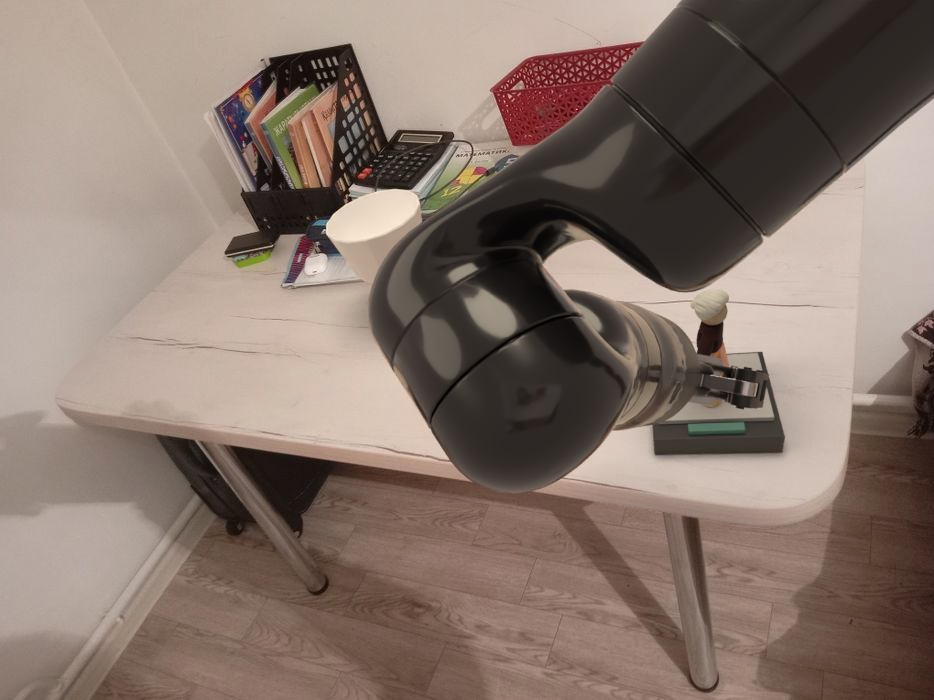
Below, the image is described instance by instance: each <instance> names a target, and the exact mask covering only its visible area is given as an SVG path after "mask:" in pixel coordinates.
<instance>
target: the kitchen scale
mask: <svg viewBox="0 0 934 700" xmlns="http://www.w3.org/2000/svg"><path fill="white" fill-rule="evenodd" d="M726 355H727V359H728V362H729V367H731V365H732V366H737V367H738V368H741V369H744V367H749V368H752V370H753V371H756V370H761V371H764V373H767V374H769V372H768V368H767V363H766V360H765V357H764V353H763V351H751V352H748V351H747V352H733V353H732V352H731V353H726ZM766 381H768V383H767V388H766V393H765V398H764V403H763V408H757V409H755V408H744V409H738V408H736V406H734V405H731V404H729V403H727V402H724V400H721V403H720V404H719V405H718V406H717V407H713V408H711V407H706V406H704V405H702V404H699V403H692V402H688V403H687V404H686V405H685V406H684V407H683V408H682V409H681V410H680V411H679V412H678V413H677V414H676V415H674V416H673V417H671V418H669V419H668V420H666V421H663V422H661V423H658V424H654V425H651V426H652V438H653V441H652V442H653V453H654V455H655V456H656V455H657V456H658V455H659V456H660V455H705V454H706V455H707V454H708V455H709V454H710V455H711V454H713V455H714V454H762V453H783V452H784V445H785V439H786V435H785V432H784V429H783V424H782V421H781V417H780V413H779V410H778V406H777V402H776V399H775V395H774V390H773V387H772V382H771V379H770V377H769V378H768V380H766ZM718 392H719V391H718Z"/></svg>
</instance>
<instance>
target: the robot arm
mask: <svg viewBox="0 0 934 700" xmlns="http://www.w3.org/2000/svg"><path fill="white" fill-rule="evenodd" d="M610 83H611V84H609V83H606V84H605V85H603V86H602V87H601V89H600V90H599V91H598V92H597V93H596V94H595V95H594V97H593V98H592V99H591V100H590V101H589V102H588V104H587V105H586V106H585V107H584V108H583V109H581V111H580V112H579V113H578V114H577V115H575V116H574V117H573V118H571V119H570V120H569V121H567V122H566V123H565V124H564V125H562V126H561V127H560V128H558V129H557V130H555V131H554V132H552V133H551V134H549V136H547V137H546V138H544V139H542V140H541V141H540V142H538V143H537V144H535V145H534V146H533V147H531V148H530V149H528V150H527V151H525V152H524V153H523V154H521V155H520V156H518V157H517V158H516V159H514V160H512V162H510V163H509V164H507V165H505V166H504V167H503V168H502V169H501V170H499V171H497V172H496V173H495V174H493V175H492V176H491V177H489V178H487V179H486V180H485V181H483V182H481V183H480V184H478V185H477V186H475V187H473V189H471V190H469V191H468V192H466V193H465V194H463V195H462V196H460V197H458V198H457V199H455V200H454V201H452V202H450V203H449V204H447V205H446V206H444V207H442V208H441V209H439V210H437V211H436V212H434V213H433V214H432V215H430V216H429V217H427V218H426V219H424V220H422V222H421V223H420V224H419V225H417V226H416V227H415V228H413V229H412V230H411V231H409V232H408V233H407V234H406V235H405V236H404V237H403V238H402V239H401V240H400V241H399V242H398V243H397V244H396V245H395V246H394V247H393V248H392V249H391V250H390V252H389V253H388V255H387V256H386V257H385V259H384V260H383V262H382V264H381V266H380V268H379V270H378V271H377V273H376V275H375V278H374V281H373V284H371V287H370V291H369V295H368V299H367V308H366V309H367V310H366V314H367V315H366V319H367V324H368V328H369V331H370V334H371V336H372V339H373V341H374V343H375V345H376V346H377V348H378V350H379V351H380V353H381V355H382V357H383V358H384V359H385V361H386V362H387V364H388V365H389V367H390V369H391V370H392V372H393V373H394V374H395V375H394V376H396V378H397V379H398V381H399V382H400V384H401V386H402V387H403V389H404V390H405V392H406V393H407V395H408V397H409V399H410V400H411V402H412V403H413V405H414V407H415V408H416V410H417V412H418V413H419V414H420V416H421V418H422V419H423V422H424V423H425V425H426V426H427V427H428V429H429V430H430V433H431V434H432V436H433V437H434V438H435V440H436V442H437V443H438V445H439V446H440V448H441V449H442V450H443V452H444V454H445V455H446V457H447V459H448V460H449V461H450V463H451V464H452V465H453V466H454V467H455V468H456V469H457V471H458V472H459V473H460V474H461V475H463V476H464V477H465V478H466V479H467V480H469V481H470V482H472V483H474V484H475V485H477V486H479V487H482V488H483V489H486V490H489V491H492V492H495V493H499V494H500V493H501V494H506V495H507V494H508V495H518V494H528V493H532V492H535V491H537V490H538V491H539V490H541V489H543V488H546V487H548V486H550V485H553V484H554V483H557V482H558V481H560V480H562V479H563V478H565V477H567V476H568V475H569V474H570V473H572V472H573V471H575V470H576V469H578V468H579V467H580V466H581V465H582V464H583V463H585V462H586V461H587V460H588V459H589V458H590V457H591V456H592V455H594V453H596V451H597V450H598V449H599V448H600V447H601V446H602V445H603V444H604V443H605V441H606V440H607V439H608V437H609V436H610V435H611V433H612V432H618V431H619V432H620V431H626V430H632V429H636V428H641V427H642V428H643V427H647V426H652V425H654V424H658V423H661V422H663V421H666V420H668V419H669V418H671V417H673V416H674V415H676V414H677V413H678V412H679V411H680V410H681V409H682V408H683V407H684V406H685V405H686V404H687V403H688V402H692V403H699V404H706V405H712V404H713V403H714V402H715V401H716V400H717V399H719V400H724V402H727V403H729V404H731V405H734V406H736V408H738V409H744V408H755V409H757V408H763V403H764V398H765V393H766V388H767V383H768V381H766V380H768V378H769V379H770V374H769V373H768V374H767V373H764V371H761V370H756V371H753V370H752V368H749V367H744V369H741V368H738V367H737V366H732V365H731V367H726V366H723V364H722V360H721V359H720V358H717V357H711V356H706V355H701V354H696V353H697V350H696V349H695V347H694V344H693V342H692V341H691V338H690V337H689V336H688V335H687V333H686V332H685V331H684V330H683V329H682V328H681V327H680V326H679V325H678V324H677V323H675V322H674V321H672V320H671V319H670V318H667V317H665V316H663V315H660V314H659V313H656V312H654V311H651V310H649V309H647V308H644V307H642V306H640V305H638V304H635V303H631V302H628V301H624V300H623V301H622V300H614V299H612V298H609V297H607V296H604V295H602V294H601V295H600V294H598V293H595V292H592V291H585V290H582V289H581V290H580V289H575V288H574V289H572V288H571V289H570V288H569V289H563V288H562V287H561V285H560V284H559V283H558V282H557V280H556V279H555V278H554V277H553V275H552V274H551V273H550V272H549V271H548V269H547V268H546V267H545V265H544V264H545V263H546V262H547V260H549V258H551V257H552V256H553V255H554V254H555V253H556V252H558V251H559V250H561V249H563V248H566V247H568V246H570V245H573V244H575V243H579V242H583V241H584V242H585V241H593V242H595V243H597V244H599V245H600V246H601V247H603V248H604V249H606V250H607V251H608V252H610V253H611V254H613V255H614V256H615V257H617V258H618V259H620V260H621V261H622V262H623V263H625V264H626V265H627V266H629V267H630V268H631V269H633V270H634V271H636V272H637V273H638V274H640V275H641V276H643V277H645V278H647V279H648V280H650V281H652V283H654V284H656V285H658V286H659V287H662V288H665V289H667V290H668V291H672V292H676V293H683V294H684V293H685V294H688V293H694V292H698V291H701V290H704V289H705V288H708V287H710V286H711V285H713V284H714V283H716V282H717V281H719V280H720V279H722V278H723V277H725V276H726V275H728V274H729V273H730V272H731V271H732V270H733V269H735V268H736V267H737V266H738V265H740V264H741V263H743V261H745V259H747V258H748V257H749V256H751V255H752V254H753V253H754V252H755V251H756V250H757V249H758V248H760V247H761V246H762V245H763V244H764V243H765V239H764V237H765V238H766V239H767V238H769V239H770V238H771V237H772V236H773V235H774V234H775V233H778V231H779V230H781V228H783V227H784V226H785V225H786V224H787V223H788V222H790V221H791V220H792V219H793V218H794V217H795V216H797V215H798V214H799V213H800V212H801V211H802V210H804V209H805V208H807V206H808V205H810V204H811V203H812V202H814V200H816V199H817V198H818V197H819V196H821V194H823V193H824V192H825V191H826V190H827V189H829V187H831V186H832V185H833V184H834V183H835V182H837V181H838V180H840V179H841V177H843V176H844V174H847V173H848V172H849V171H850V170H851V169H853V167H854V166H856V165H857V164H858V163H859V162H860V161H861V160H863V159H864V158H865V157H866V156H867V155H868V154H870V153H871V152H872V151H873V150H874V149H876V148H877V146H879V145H880V144H881V143H882V142H883V141H884V140H886V139H887V138H888V137H889V136H890V135H891V134H892V133H894V132H895V131H896V130H897V129H898V128H899V127H901V125H903V124H904V123H906V122H907V121H908V120H909V119H910V118H912V117H913V116H915V114H917V113H918V112H919V111H921V110H922V109H923V108H924V107H926V106H927V105H928V104H929V103H930V102H932V101H934V0H679V2H678V3H677V4H676V6H675V7H674V8H673V9H672V10H671V11H670V12H669V13H668V14H667V16H666V17H665V18H664V19H663V20H662V21H661V23H660V24H658V26H656V28H655V29H654V30H653V31H652V32H651V33H650V34H649V35H648V37H646V39H645V40H644V41H643V42H642V43H641V45H640V46H639V47H638V48H637V49H636V50H635V51H634V52H633V53H632V55H631V56H630V57H629V58H628V59H627V60H626V61H625V63H623V65H621V67H620V68H619V69H618V70H617V71H616V72H615V74H613V76H612V77H610ZM721 373H723V376H722V377H720V374H721ZM717 390H719V392H718V391H717Z"/></svg>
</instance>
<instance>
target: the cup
mask: <svg viewBox="0 0 934 700" xmlns="http://www.w3.org/2000/svg"><path fill="white" fill-rule="evenodd" d="M421 222H423V218H422V209H421V202H420V199H419V195H417V194H415V193H414V192H412V191H410V190H409V189H399V188H391V189H384V190H377V191H375V192H374V191H373V192H371V193H368V194H364V195H362V196H359V197H357V198H356V199H353V200H351V201H350V202H349V201H348V203H345V204H344V205H343V206H342V207H340V208H339V209H338V210H337V211H335V212H334V213H333V214H332V215H331V217H330V218H329V219H328V221H327V223H326V225H325V228H326V229H325V230H326V231H325V234H326V236H327V237H328V239H329V240H330V241H331V243H332V244H333V246H334V247H335V248H336V250H337V251H338V252H339V254H340V255H341V257H342V258H343V259H344V260H345V261H346V263H347V265H348V266H349V267H350V269H351V270H352V271H353V273H354V274H355V275H356V276H357V277H358V278H359V279H360V280H361V281H363V282H365V283H366V284H370V285H372V284H373V281H374V278H375V275H376V273H377V271H378V270H379V268H380V266H381V264H382V262H383V260H384V259H385V257H386V256H387V255H388V253H389V252H390V250H391V249H392V248H393V247H394V246H395V245H396V244H397V243H398V242H399V241H400V240H401V239H402V238H403V237H404V236H405V235H406V234H407V233H408V232H409V231H411V230H412V229H413V228H415V227H416V226H417V225H419V224H420V223H421Z"/></svg>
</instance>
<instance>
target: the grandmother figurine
mask: <svg viewBox="0 0 934 700" xmlns="http://www.w3.org/2000/svg"><path fill="white" fill-rule="evenodd" d="M729 300H730V295H729V293H727V292H726V291H724V290H722V289H715V288H711V289H706V290H704V291H701V292H700V293H698V294H697V295H696V296H695V297H694V299H693V300H692V301H691V302H690V305H689V306H690V308H691V309H693V310H694V312H695V315H696V317H697V318H698V319H699V320H701V321H700V324H699V327H698V330H697V334H696V349H697V350H696V354H701V355H706V356H711V357H717V358H720V359H721V360H722V364H723V366H726V367H729V362H728V359H727V355H726V354H727V349H726V346H725V342H724V321H725V320H726V319H727V316H728V312H729V311H728V310H729V309H728V305H727V304H728V302H729ZM722 376H723V373H721V374H720V377H722ZM717 391H719V390H717ZM720 403H721V400H719V399H717V400H716V401H715V402H714V403H713V404H712V405H706V404H702V405H704V406H706V407H711V408H713V407H717V406H718V405H719V404H720Z"/></svg>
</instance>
